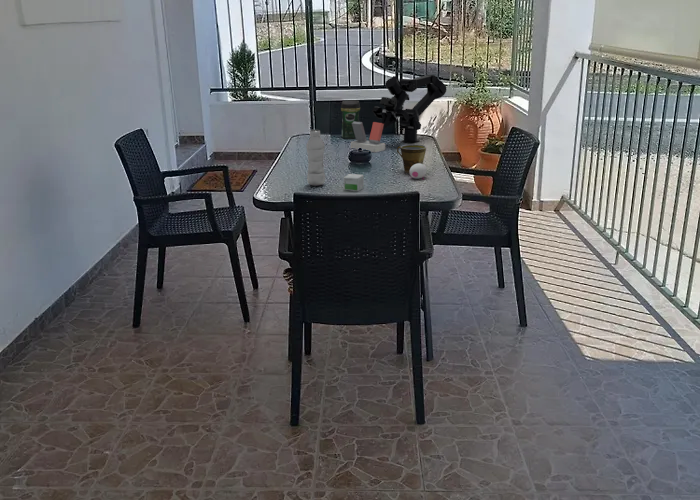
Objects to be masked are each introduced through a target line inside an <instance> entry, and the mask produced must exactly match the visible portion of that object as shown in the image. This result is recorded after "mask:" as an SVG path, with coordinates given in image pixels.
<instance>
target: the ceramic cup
mask: <svg viewBox="0 0 700 500" xmlns="http://www.w3.org/2000/svg"><path fill="white" fill-rule="evenodd" d="M399 149H400V151H399ZM426 151H427V146H426V145H421V144H416V143H415V144H414V143H411V144H404V145H401V146H399V145H398V146H397V148H396V152H397V154H398V155H399V156H400V157H401V158H402V163H403V164H402V165H403V169H404V170H403V171H404V173H405V174H409V175H410V173H409V171H410V168H411V167H412V166H413V165H414V164H418V163H421V164H423V165H424V161H425V157H426V156H425V155H426Z"/></svg>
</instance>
